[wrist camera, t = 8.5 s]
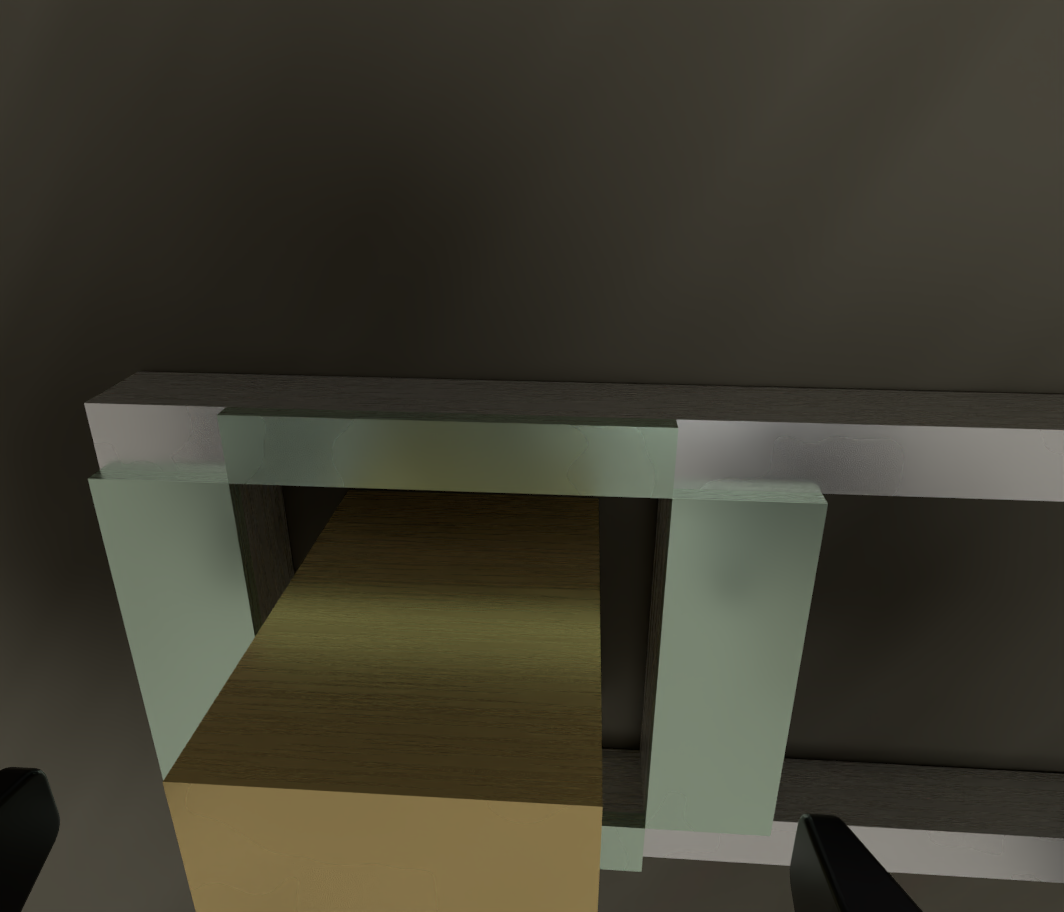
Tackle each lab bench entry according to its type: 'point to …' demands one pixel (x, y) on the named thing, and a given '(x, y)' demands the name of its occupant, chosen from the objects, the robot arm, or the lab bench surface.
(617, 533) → the lab bench surface
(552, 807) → the brass block
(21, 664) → the lab bench surface
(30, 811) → the robot arm
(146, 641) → the grey compartment frame
